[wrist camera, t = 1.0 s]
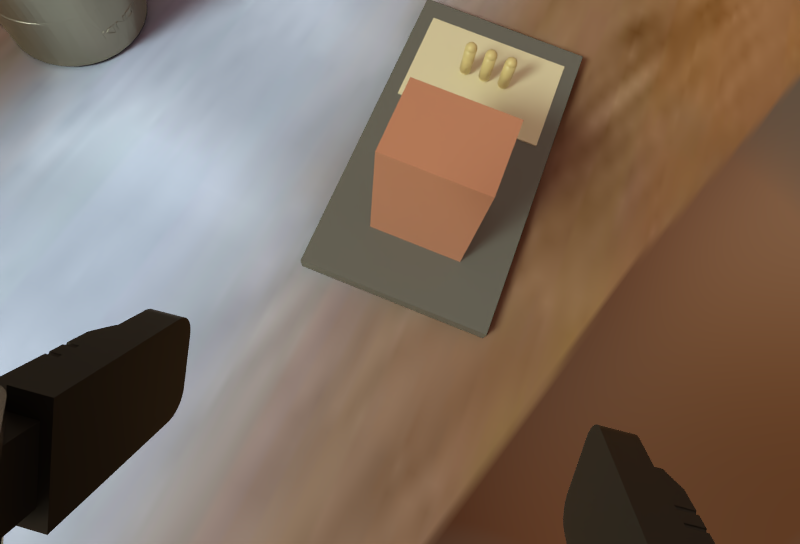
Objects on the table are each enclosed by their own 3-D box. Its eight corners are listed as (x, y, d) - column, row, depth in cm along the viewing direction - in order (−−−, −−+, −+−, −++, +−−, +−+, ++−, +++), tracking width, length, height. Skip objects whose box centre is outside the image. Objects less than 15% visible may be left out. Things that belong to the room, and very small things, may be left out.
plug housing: (369, 226, 35) (375, 151, 26) (397, 165, 36) (410, 75, 28) (460, 262, 34) (494, 197, 26) (484, 198, 36) (524, 118, 27)
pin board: (302, 265, 35) (295, 242, 31) (426, 9, 42) (432, -35, 38) (483, 338, 34) (498, 323, 30) (577, 65, 41) (599, 27, 37)
